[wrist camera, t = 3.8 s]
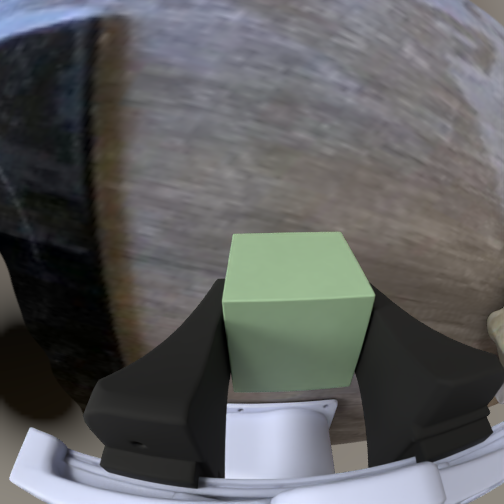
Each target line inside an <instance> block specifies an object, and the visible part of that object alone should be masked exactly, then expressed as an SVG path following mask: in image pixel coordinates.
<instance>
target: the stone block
mask: <svg viewBox="0 0 504 504" xmlns="http://www.w3.org/2000/svg"><path fill="white" fill-rule="evenodd" d="M495 396H496V399H497V401H498V402H499V403H500V404H504V383H503V385H502V387H501V388H500V390H499V391H498V392H497V393H496V395H495Z"/></svg>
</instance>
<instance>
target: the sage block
mask: <svg viewBox="0 0 504 504" xmlns="http://www.w3.org/2000/svg"><path fill="white" fill-rule="evenodd" d="M374 300H375V293H374V291H373V289H372V287H371V286H370V284H369V282H368V280H367V278H366V276H365V274H364V272H363V271H362V269H361V267H360V265H359V263H358V261H357V260H356V258H355V256H354V254H353V253H352V251H351V249H350V247H349V246H348V244H347V242H346V240H345V239H344V237H343V235H342V233H341V232H297V233H254V234H233V237H232V243H231V249H230V255H229V261H228V267H227V273H226V279H225V285H224V291H223V297H222V307H223V315H224V323H225V331H226V339H227V347H228V354H229V361H230V368H231V376H232V383H233V389H234V392H282V391H301V390H315V389H327V388H337V387H346V386H350V384H351V381H352V378H353V375H354V372H355V368H356V365H357V362H358V359H359V356H360V352H361V349H362V345H363V342H364V338H365V335H366V331H367V328H368V324H369V320H370V316H371V312H372V308H373V304H374Z"/></svg>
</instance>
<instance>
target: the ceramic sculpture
mask: <svg viewBox="0 0 504 504" xmlns="http://www.w3.org/2000/svg"><path fill="white" fill-rule="evenodd" d="M487 331H488V333H489V336H490V338H491V339H492V340H493V341H494V342H495V344H496V346H497V351H498V356H499V360H500V362H501V364H502V366H503V367H504V307H503V308H502V309H500V310H498V311H495V312H493V313H491V314H490V316H489V317H488V319H487Z"/></svg>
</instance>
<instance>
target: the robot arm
mask: <svg viewBox="0 0 504 504" xmlns="http://www.w3.org/2000/svg"><path fill="white" fill-rule="evenodd" d="M369 284H370V286H371V287H372V289H373V291H374V293H375V300H374V304H373V308H372V312H371V316H370V320H369V324H368V328H367V331H366V335H365V338H364V342H363V345H362V349H361V352H360V356H359V359H358V362H357V365H356V368H355V374H356V377H357V380H358V384H359V388H360V393H361V399H362V405H363V411H364V418H365V426H366V436H367V447H368V468H366V469H361V470H355V471H349V472H343V473H336V474H335V471H334V463H333V456H332V449H331V442H330V436H329V427H330V425H331V422H332V419H333V417H334V414H335V411H336V408H337V406H338V402H337V400H335V399H330V400H320V401H307V402H292V403H265V404H227V395H228V386H229V380H230V374H231V368H230V361H229V354H228V347H227V339H226V331H225V323H224V315H223V307H222V297H223V291H224V285H225V279H217V280H216V281H215V283H214V285H213V286H212V287H211V289H210V290H209V292H208V293H207V295H206V296H205V297H204V299H203V300H202V301H201V303H200V304H199V305H198V306H197V308H196V309H195V310H194V311H193V313H192V314H191V315H190V316H189V317H188V318H187V319H186V320H185V321H184V323H183V324H182V325H181V326H180V327H179V328H178V329H177V330H176V331H175V332H174V333H173V334H172V335H170V336H169V337H168V338H167V339H166V340H165V341H164V342H162V343H161V344H160V345H158V346H157V347H156V348H154V349H153V350H152V351H150V352H149V353H148V354H146V355H145V356H143V357H142V358H140V359H139V360H137V361H135V362H134V363H132V364H130V365H128V366H127V367H125V368H123V369H121V370H119V371H117V372H115V373H113V374H111V375H109V376H107V377H104V378H102V379H100V380H99V381H98V383H97V384H96V386H95V388H94V390H93V392H92V395H91V397H90V400H89V402H88V404H87V407H86V409H85V412H84V414H83V417H84V421H85V423H86V424H87V426H88V427H89V428H90V430H91V431H92V432H93V433H94V434H95V435H96V436H97V437H98V438H99V440H100V441H101V442H102V443H103V444H104V445H105V448H104V451H103V454H102V458H101V459H100V458H96V457H93V456H90V455H86V454H83V453H80V452H77V451H74V450H71V449H68V448H67V446H66V445H65V444H64V443H63V442H62V441H60V440H59V439H58V438H56V437H54V436H52V435H50V434H47V433H45V432H42V431H40V430H37V429H35V428H30V429H29V431H28V433H27V436H26V438H25V440H24V443H23V445H22V448H21V450H20V452H19V455H18V457H17V459H16V462H15V465H14V467H13V470H12V472H11V475H10V478H9V479H10V481H11V482H13V483H14V484H15V485H17V486H19V487H20V488H22V489H23V490H25V491H26V492H28V493H30V494H31V495H33V496H35V497H37V498H38V499H40V500H42V501H43V502H46V503H47V504H468V503H470V502H471V501H473V500H475V499H477V498H479V497H480V496H483V495H484V494H486V493H488V492H490V491H491V490H493V489H495V488H496V487H498V486H500V485H501V484H503V483H504V421H503V422H501V423H499V424H497V425H495V426H493V427H491V426H490V423H489V421H488V419H487V416H488V415H489V414H490V411H489V409H488V406H487V405H488V404H489V402H490V401H491V400H492V399H493V397H494V396H495V395H496V393H497V392H498V391H499V390H500V388H501V387H502V385H503V383H504V367H503V366H502V364H501V362H500V361H499V359H498V357H497V356H496V355H495V354H493V353H489V352H486V351H482V350H479V349H476V348H473V347H470V346H467V345H465V344H462V343H460V342H457V341H455V340H453V339H451V338H449V337H447V336H445V335H443V334H441V333H439V332H437V331H435V330H433V329H431V328H430V327H428V326H426V325H425V324H423V323H421V322H420V321H418V320H417V319H415V318H414V317H412V316H411V315H409V314H408V313H407V312H405V311H404V310H403V309H401V308H400V307H399V306H397V305H396V304H395V303H393V302H392V301H391V300H390V299H388V298H387V297H386V296H385V295H384V294H382V293H381V292H380V291H379V290H378V289H377V288H375V287H374V286H373V285H372V284H371V283H369Z"/></svg>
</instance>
